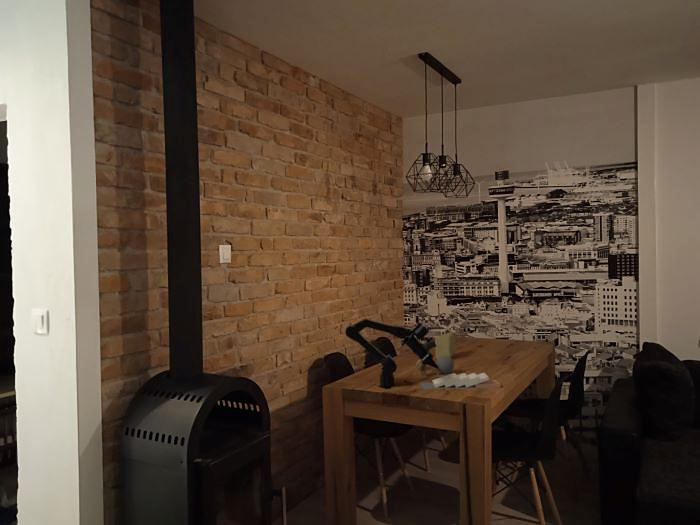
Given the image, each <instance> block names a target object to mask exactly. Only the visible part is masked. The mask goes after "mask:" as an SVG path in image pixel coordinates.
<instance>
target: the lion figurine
mask: <svg viewBox="0 0 700 525" xmlns="http://www.w3.org/2000/svg"><path fill="white" fill-rule="evenodd" d="M437 366H438V365H437ZM416 368H417V369H418V371H420V373H421V374H420V376H421V375H422V376H423V377H427V371H432V372H431V373H430V375H433V374H434V373H435V372H436V373H437V374H436V375H437V376H440V374H441V372H439V368H434V367H432V366H430V365H427V364H426V365H424V364H423V363H422V362H421V359H418V360H417V361H416Z"/></svg>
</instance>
